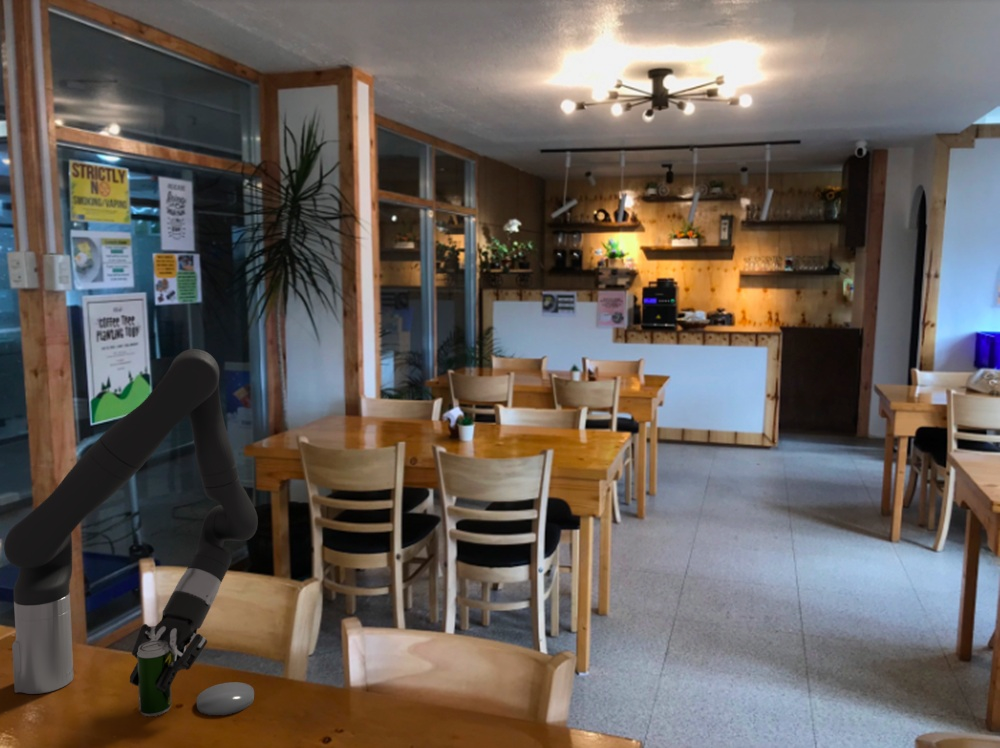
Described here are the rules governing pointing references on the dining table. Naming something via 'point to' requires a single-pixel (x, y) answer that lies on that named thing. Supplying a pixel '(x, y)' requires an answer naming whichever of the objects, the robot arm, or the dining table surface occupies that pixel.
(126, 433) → the robot arm
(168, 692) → the beer can
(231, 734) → the dining table surface
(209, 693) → the smooth grey oval object
